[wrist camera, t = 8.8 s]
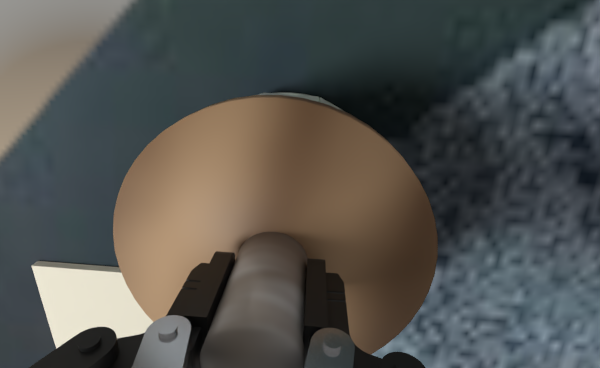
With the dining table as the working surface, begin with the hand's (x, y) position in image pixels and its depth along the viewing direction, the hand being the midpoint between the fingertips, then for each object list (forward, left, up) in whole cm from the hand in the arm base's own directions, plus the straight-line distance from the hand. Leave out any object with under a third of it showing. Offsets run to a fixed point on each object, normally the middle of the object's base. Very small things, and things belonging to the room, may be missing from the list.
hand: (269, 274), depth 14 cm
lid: (0, 0, -2) cm, 2 cm away
